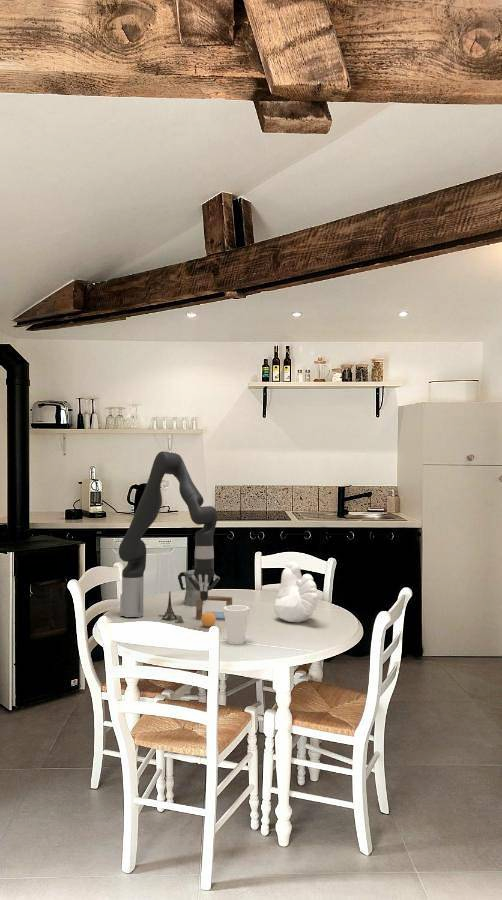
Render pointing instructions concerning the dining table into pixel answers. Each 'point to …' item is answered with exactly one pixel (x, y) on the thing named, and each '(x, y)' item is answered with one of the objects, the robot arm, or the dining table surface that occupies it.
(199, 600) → the bridge
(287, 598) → the decorative rooster
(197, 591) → the coffeepot
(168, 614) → the eiffel tower figurine
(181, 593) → the dining table surface
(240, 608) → the foam cup
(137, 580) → the robot arm
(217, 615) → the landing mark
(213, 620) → the ball
